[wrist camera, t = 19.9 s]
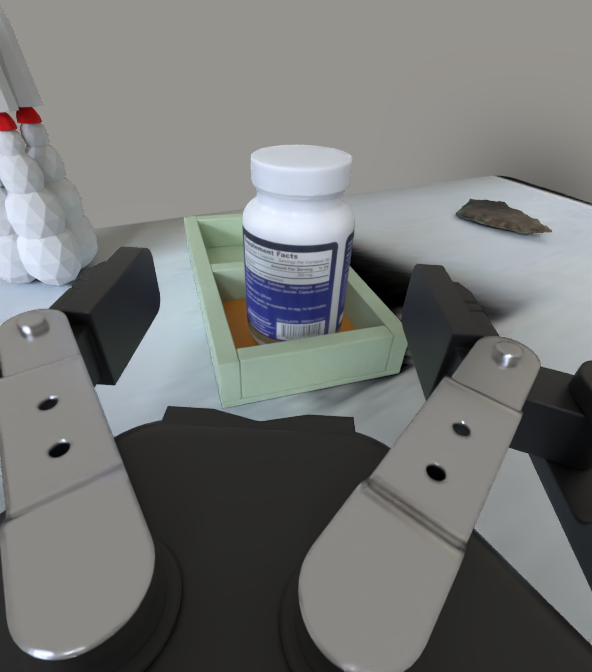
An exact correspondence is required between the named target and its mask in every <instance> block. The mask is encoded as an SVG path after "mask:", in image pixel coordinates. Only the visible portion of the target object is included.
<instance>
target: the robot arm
mask: <svg viewBox="0 0 592 672" xmlns="http://www.w3.org/2000/svg"><path fill="white" fill-rule="evenodd" d="M159 307H160V292H159V287H158V282H157V277H156V272H155V267H154V262H153V257H152V254H151V251H150V250H149V249H148V248H137V247H120V248H119V249H118V250H117V251H116V252H115V253H114V254H113V255H112V256H111V257H110V258H109V259H108V260H107V262H102V263H100V264H98V265H96V266H94V267H92V268H90V269H89V270H88V271H87V272H86V273H84V274H83V275H82V276H81V277H80V278H79V280H77V281H76V282H75V283H74V284H73V285H72V288H69V289H68V290H67V291H66V292H65V293H64V294H63V295H62V296H61V297H60V298H59V299H58V300H57V301H56V302H55V303H54V304H53V305H52V306H51V307H50V308H49V309H38V310H32V311H28V312H24V313H21V314H19V315H16V316H14V317H12V318H10V319H9V320H7V321H6V322H4V323H3V324H2V325H1V326H0V458H1V468H2V477H3V486H4V496H5V505H6V510H5V511H4V512H2V513H1V514H0V672H592V645H591V644H590V643H589V642H588V641H587V640H586V639H585V638H584V637H583V636H582V635H581V634H580V633H579V632H578V631H577V630H576V629H575V628H574V627H573V626H572V625H571V624H570V623H569V622H568V621H567V620H566V619H565V618H564V617H563V616H562V615H561V614H560V613H559V612H558V611H557V610H556V609H555V608H554V607H553V606H551V605H550V604H549V603H548V602H547V601H546V600H545V599H544V598H543V597H542V596H541V595H540V594H539V593H538V592H537V591H536V590H535V589H534V588H533V587H532V586H531V585H530V584H529V583H528V582H527V581H526V580H525V579H524V578H523V577H522V576H521V575H520V574H519V573H518V572H517V571H516V570H515V569H514V568H513V567H512V566H511V565H510V564H509V563H508V562H507V561H506V560H505V559H504V558H503V557H502V556H501V555H500V554H499V553H498V552H497V551H496V550H495V549H494V548H493V547H492V546H491V545H490V544H489V543H488V542H487V541H486V540H485V539H484V538H483V537H482V536H481V535H480V534H479V533H478V532H477V531H476V530H475V529H474V526H475V523H476V521H477V519H478V516H479V514H480V512H481V510H482V507H483V505H484V503H485V500H486V498H487V496H488V493H489V491H490V489H491V487H492V484H493V482H494V480H495V477H496V475H497V473H498V470H499V468H500V466H501V464H502V461H503V459H504V457H505V454H506V452H507V450H508V447H509V448H512V449H515V450H519V451H522V452H525V453H528V454H529V456H530V458H531V461H532V463H533V465H534V467H535V469H536V471H537V474H538V476H539V478H540V480H541V482H542V484H543V487H544V489H545V491H546V493H547V495H548V497H549V500H550V502H551V504H552V506H553V508H554V510H555V513H556V515H557V517H558V519H559V521H560V523H561V526H562V528H563V530H564V532H565V534H566V536H567V538H568V541H569V543H570V545H571V547H572V549H573V551H574V554H575V556H576V558H577V560H578V562H579V564H580V567H581V569H582V571H583V573H584V575H585V577H586V580H587V582H588V584H589V586H590V588H591V590H592V361H587V362H584V363H583V364H582V365H581V366H580V368H579V369H578V370H577V372H576V373H575V375H571V374H567V373H563V372H560V371H556V370H552V369H548V368H544V367H541V366H540V360H539V358H538V357H537V355H536V354H535V353H534V352H533V351H532V350H531V349H529V348H528V347H526V346H525V345H523V344H521V343H519V342H517V341H515V340H512V339H509V338H505V337H500V336H499V335H498V333H497V331H496V330H495V328H494V327H493V325H492V324H491V322H490V321H489V319H488V318H487V316H486V314H485V313H483V310H482V308H481V307H480V305H479V304H477V301H476V299H475V298H474V296H473V294H472V293H471V292H470V291H469V290H468V289H466V288H465V287H464V286H462V285H461V284H459V283H458V282H452V280H451V278H450V277H449V275H448V273H447V272H446V270H445V268H444V267H443V266H442V265H426V264H416V265H415V267H414V269H413V272H412V275H411V279H410V283H409V287H408V291H407V294H406V298H405V302H404V306H403V310H402V327H403V330H404V334H405V337H406V340H407V343H408V346H409V349H410V352H411V355H412V359H413V362H414V365H415V368H416V371H417V374H418V377H419V380H420V384H421V387H422V390H423V393H424V396H425V399H426V402H425V404H424V405H423V406H422V408H421V409H420V410H419V412H418V413H417V414H416V416H415V417H414V418H413V420H412V421H411V422H410V424H409V425H408V426H407V428H406V429H405V430H404V432H403V433H402V435H401V436H400V437H399V439H398V440H397V441H396V443H395V444H394V445H393V447H392V448H389V447H388V446H386V445H385V444H383V443H381V442H379V441H377V440H375V439H373V438H371V437H369V436H366V435H364V434H361V433H357V432H355V426H354V417H339V416H323V415H302V416H295V417H288V418H281V419H274V420H268V421H255V420H251V419H248V418H244V417H241V416H237V415H234V414H230V413H226V412H223V411H219V410H216V409H208V408H191V407H175V406H168V407H167V409H166V412H165V414H164V417H163V419H162V421H156V422H151V423H147V424H144V425H141V426H138V427H135V428H132V429H130V430H128V431H126V432H123V433H121V434H119V435H118V436H116V437H113V434H112V432H111V429H110V427H109V424H108V422H107V419H106V416H105V414H104V411H103V409H102V406H101V404H100V401H99V398H98V396H97V393H96V391H95V388H94V387H95V386H96V384H102V385H116V383H117V381H118V380H119V378H120V376H121V374H122V373H123V371H124V369H125V368H126V366H127V364H128V363H129V361H130V359H131V357H132V356H133V354H134V352H135V351H136V349H137V347H138V346H139V344H140V342H141V341H142V339H143V337H144V335H145V334H146V332H147V330H148V329H149V327H150V325H151V324H152V322H153V320H154V319H155V317H156V315H157V313H158V311H159Z"/></svg>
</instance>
